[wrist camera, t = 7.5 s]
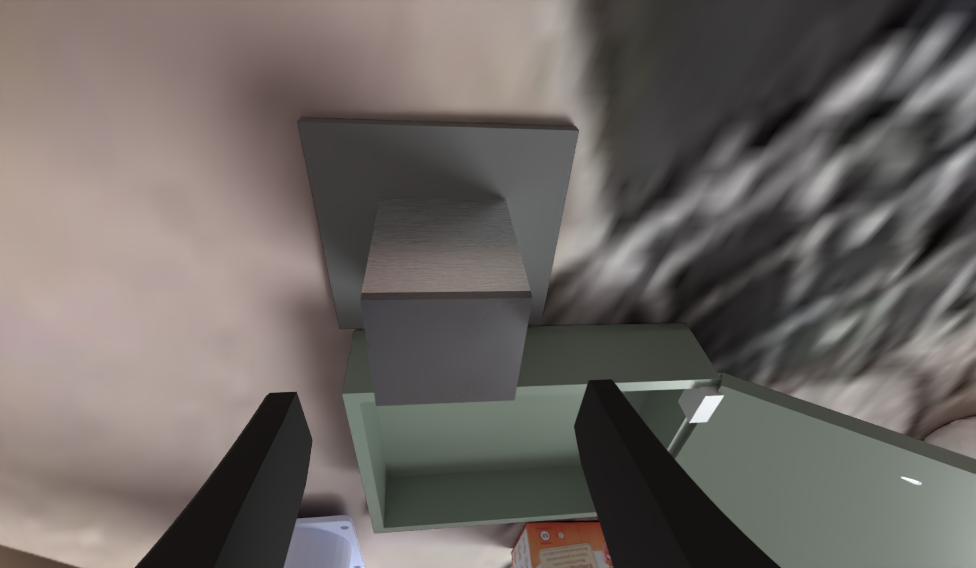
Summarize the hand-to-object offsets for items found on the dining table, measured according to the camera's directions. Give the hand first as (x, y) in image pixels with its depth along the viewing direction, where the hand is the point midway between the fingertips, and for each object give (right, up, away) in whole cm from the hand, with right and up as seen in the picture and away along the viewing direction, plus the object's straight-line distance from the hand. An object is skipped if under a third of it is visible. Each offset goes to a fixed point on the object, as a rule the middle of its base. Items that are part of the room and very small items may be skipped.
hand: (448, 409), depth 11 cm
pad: (-1, +5, +6) cm, 8 cm away
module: (-1, +4, +6) cm, 8 cm away
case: (+9, -4, +15) cm, 18 cm away
